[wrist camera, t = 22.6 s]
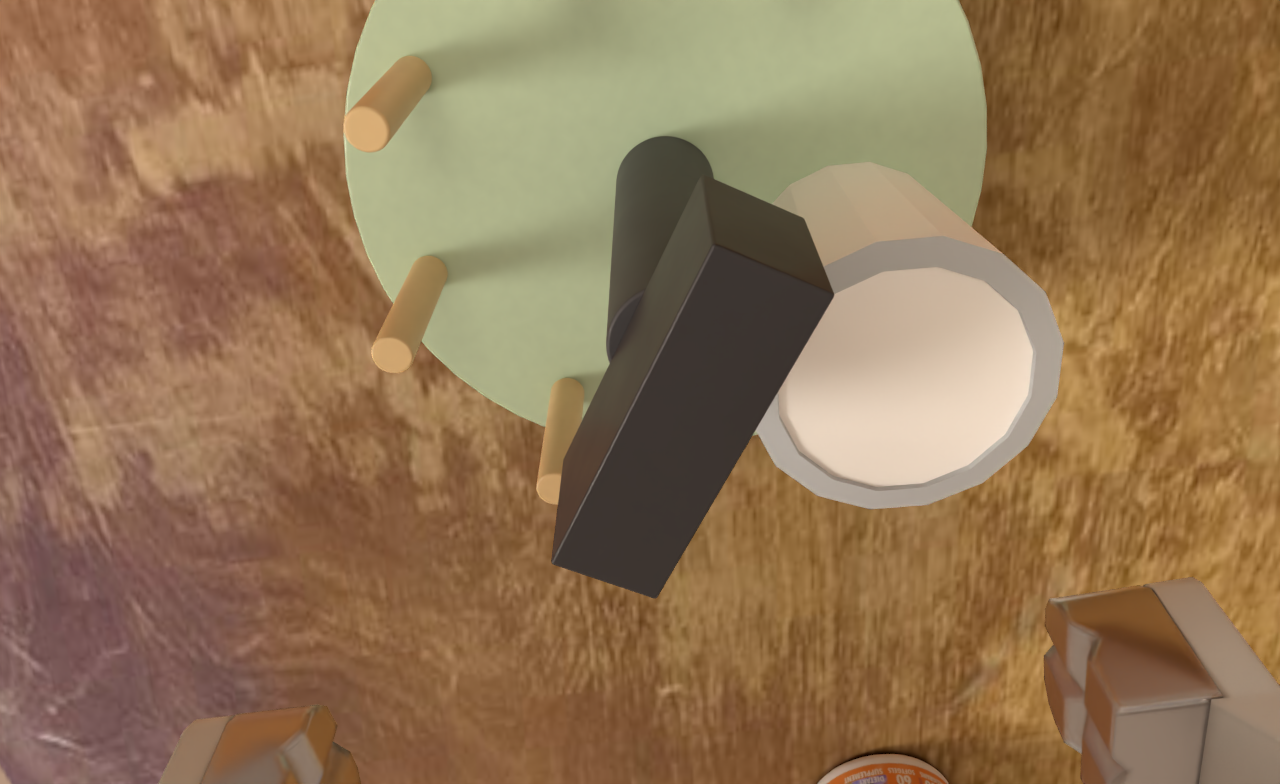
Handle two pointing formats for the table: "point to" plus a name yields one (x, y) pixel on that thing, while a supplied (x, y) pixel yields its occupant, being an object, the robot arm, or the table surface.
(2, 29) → the table surface
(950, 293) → the white cup
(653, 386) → the rack
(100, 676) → the table surface
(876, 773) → the pill bottle
